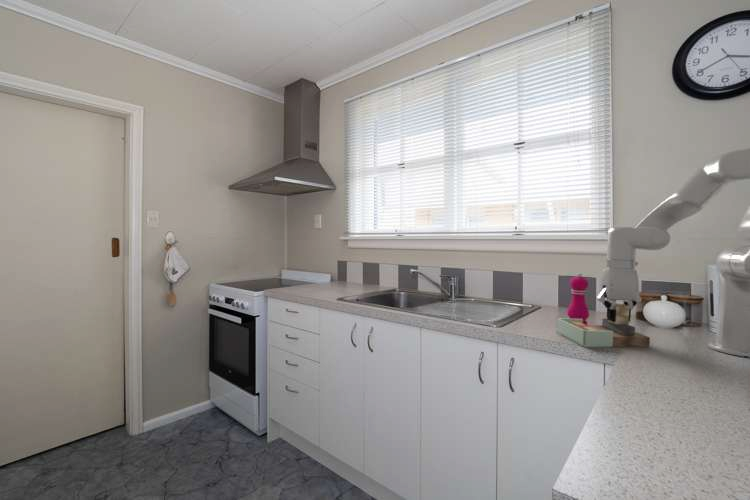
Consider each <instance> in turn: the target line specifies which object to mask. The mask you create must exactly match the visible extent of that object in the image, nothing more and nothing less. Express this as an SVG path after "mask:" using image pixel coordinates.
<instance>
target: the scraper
mask: <svg viewBox="0 0 750 500" xmlns="http://www.w3.org/2000/svg"><path fill="white" fill-rule="evenodd" d="M614 309H615V310H616V319H615V322H612V321H609V320H607V318H602V319H601V320H602V322H601V325H602V326H604V327H606V328H609V329H611V330H614V331H616V332H619V333H621V334H624V335H635V332H636V327H635V326H633V325H629V324H630V322H629V306H628V305H624V304H623V303H619V302H618V303H615V307H614Z"/></svg>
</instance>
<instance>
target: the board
mask: <svg viewBox="0 0 750 500" xmlns="http://www.w3.org/2000/svg"><path fill="white" fill-rule="evenodd" d="M586 327H592V328H594V329H597V330H598V331H613V346H623V347H624V348H625V347H627V348H628V347H629V348H650V342H651V341H650V340H651V338H650V336H647V335H644V334H641V333H639V332H636V331H635V335H624V334H621V333H619V332H616V331H614V330H611V329H609V328H606V327H604V326H602V324H599V325H597V324H595V325H594V324H591V325H590V324H587V325H586ZM623 347H622V348H623Z"/></svg>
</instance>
